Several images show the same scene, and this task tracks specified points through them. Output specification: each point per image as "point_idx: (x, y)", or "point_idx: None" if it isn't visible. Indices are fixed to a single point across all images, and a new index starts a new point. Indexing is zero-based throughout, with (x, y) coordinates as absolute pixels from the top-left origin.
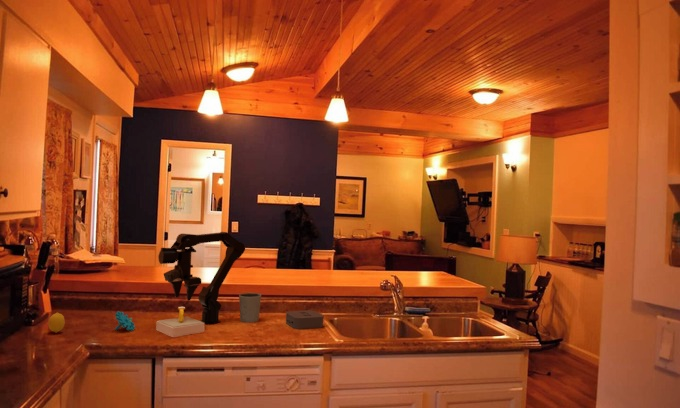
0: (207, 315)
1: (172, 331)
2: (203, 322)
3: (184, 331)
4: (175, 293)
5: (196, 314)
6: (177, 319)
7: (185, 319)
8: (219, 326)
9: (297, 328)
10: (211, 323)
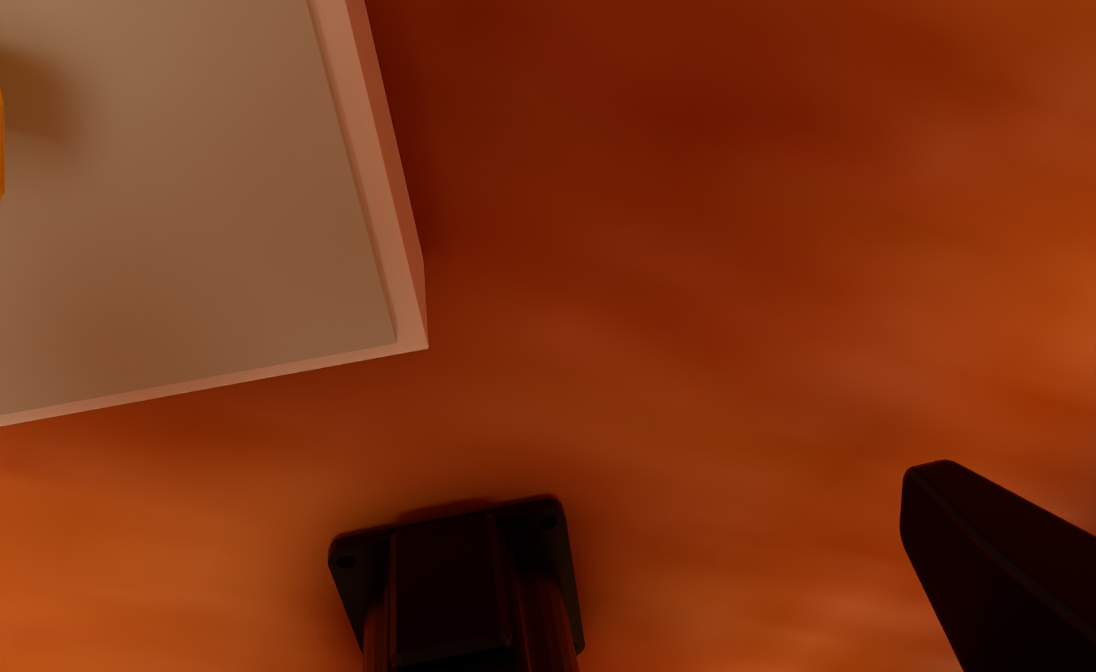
0: (384, 651)
1: None
2: (462, 515)
3: None
4: (1036, 573)
5: None
6: (116, 37)
7: (60, 226)
8: (155, 629)
9: None
10: (340, 586)
